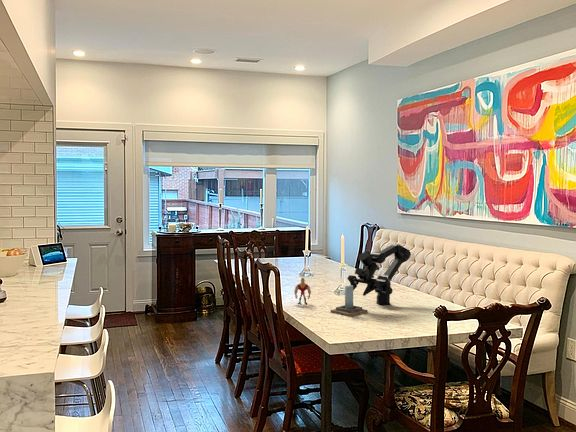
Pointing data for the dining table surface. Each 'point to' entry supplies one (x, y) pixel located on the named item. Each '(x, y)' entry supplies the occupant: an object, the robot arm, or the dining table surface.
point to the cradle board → (349, 311)
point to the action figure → (302, 290)
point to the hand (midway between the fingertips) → (356, 294)
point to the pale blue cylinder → (349, 297)
